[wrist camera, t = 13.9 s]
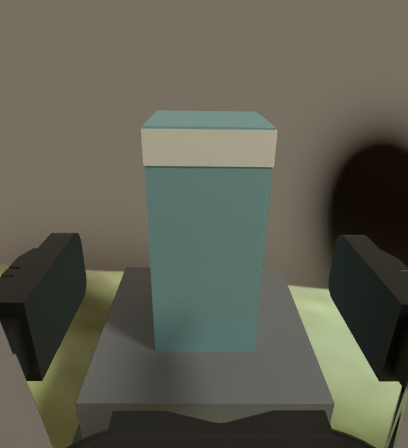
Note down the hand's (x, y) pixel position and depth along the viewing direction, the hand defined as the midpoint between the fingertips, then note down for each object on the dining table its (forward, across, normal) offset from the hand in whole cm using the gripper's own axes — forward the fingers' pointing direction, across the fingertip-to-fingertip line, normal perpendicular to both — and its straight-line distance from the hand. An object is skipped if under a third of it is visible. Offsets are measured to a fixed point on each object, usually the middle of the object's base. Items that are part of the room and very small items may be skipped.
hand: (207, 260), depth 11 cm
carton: (+6, 0, +8) cm, 10 cm away
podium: (+6, 0, +12) cm, 14 cm away
